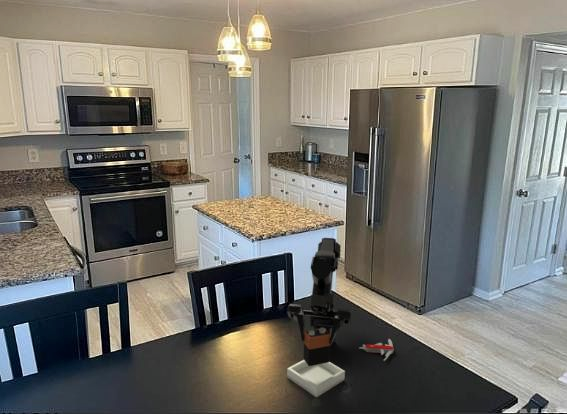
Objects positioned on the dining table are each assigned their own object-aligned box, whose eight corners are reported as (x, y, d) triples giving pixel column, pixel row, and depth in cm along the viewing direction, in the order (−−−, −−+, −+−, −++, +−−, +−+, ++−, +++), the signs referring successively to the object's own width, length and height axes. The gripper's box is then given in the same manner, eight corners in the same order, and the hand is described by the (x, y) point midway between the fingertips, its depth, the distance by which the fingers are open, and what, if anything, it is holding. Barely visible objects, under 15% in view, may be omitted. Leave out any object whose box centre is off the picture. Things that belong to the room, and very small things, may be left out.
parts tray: (315, 362, 132) (315, 353, 131) (344, 379, 123) (344, 370, 122) (287, 377, 124) (287, 368, 123) (316, 397, 115) (316, 387, 115)
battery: (330, 362, 122) (331, 331, 119) (308, 367, 119) (309, 335, 117) (323, 354, 126) (324, 324, 123) (302, 358, 123) (303, 328, 121)
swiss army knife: (360, 362, 132) (360, 357, 132) (357, 339, 146) (357, 334, 145) (396, 365, 131) (397, 359, 131) (390, 341, 145) (391, 336, 144)
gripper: (288, 278, 123) (281, 331, 115) (352, 284, 119) (349, 339, 111) (292, 292, 132) (285, 342, 124) (352, 297, 129) (349, 349, 121)
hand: (316, 343), depth 120 cm, fingers closed on battery, 8 cm apart
